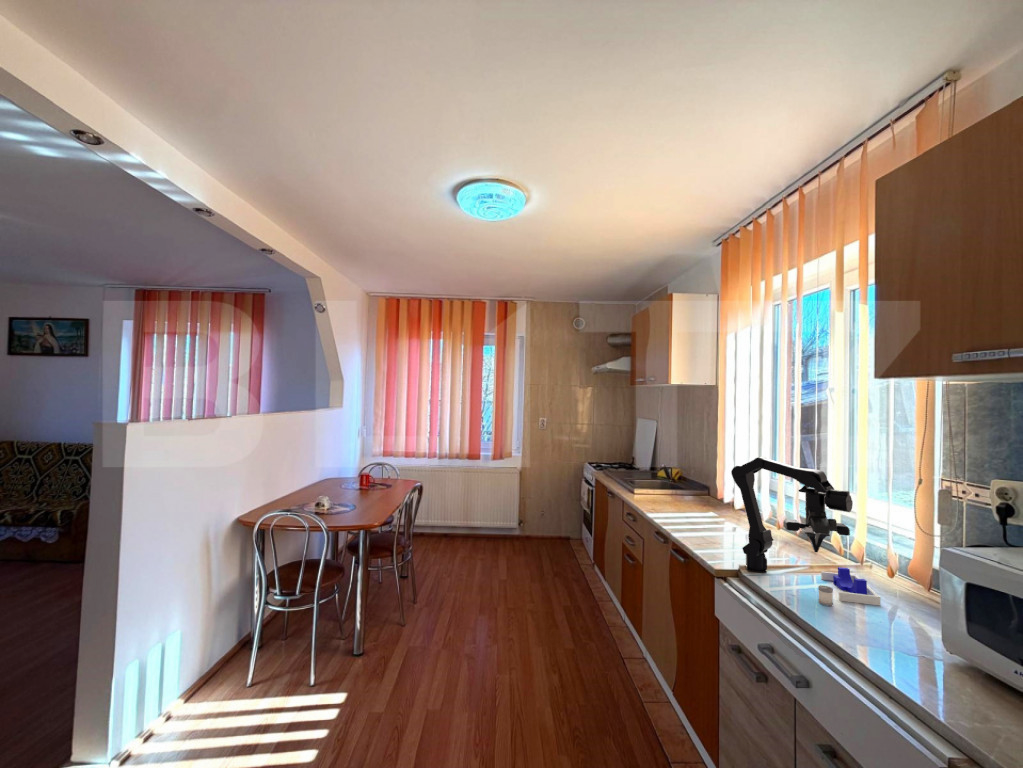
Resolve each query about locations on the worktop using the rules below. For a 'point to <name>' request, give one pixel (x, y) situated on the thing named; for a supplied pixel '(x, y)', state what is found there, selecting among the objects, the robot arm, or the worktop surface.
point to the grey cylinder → (825, 595)
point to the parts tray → (853, 597)
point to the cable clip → (849, 582)
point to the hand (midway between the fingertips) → (815, 552)
